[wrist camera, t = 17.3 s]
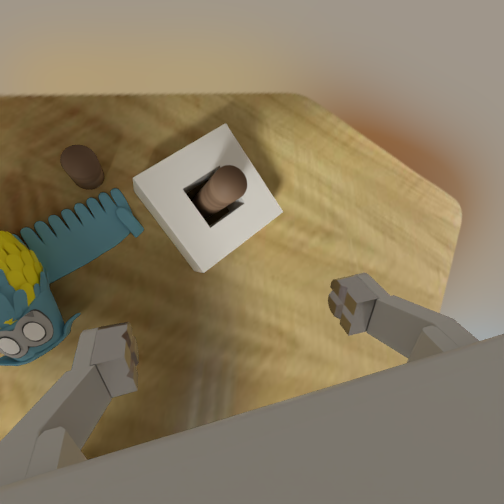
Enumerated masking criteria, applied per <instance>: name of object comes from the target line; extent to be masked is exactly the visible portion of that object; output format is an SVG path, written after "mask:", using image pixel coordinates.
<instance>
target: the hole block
mask: <svg viewBox="0 0 504 504" xmlns="http://www.w3.org/2000/svg"><path fill="white" fill-rule="evenodd" d="M225 165H232V166H235V167H237V168H239V169H240V170H241V171H242V172H243V173H244V174H245V176H246V179H247V189H246V192H245V194H244V195H243V196H242V197H241V198H239V199H238V200H236V201H234V202H233V203H231V204H230V205H228V206H226V207H227V208H228V210H229V211H230V212H228V213H227V214H225V215H224V216H223V217H221V218H220V219H218V220H217V221H216V222H214V223H213V224H211V225H210V226H209V225H208V224H207V223H206V221H205V220H204V218H203V217H202V216H201V214H200V213H199V211H198V210H197V209H196V207H195V206H194V204H193V203H192V202H191V200H190V199H189V197H188V196H187V195H186V193H188V192H189V191H191V190H192V189H194V188H195V187H197V186H199V185H200V184H202V183H203V182H205V181H206V180H208V181H209V179H210V178H211V177H212V176H213V175H214V174H215V172H216V171H217V170H218V169H219V168H220V167H222V166H225ZM133 187H134V192H135V193H136V195H137V196H138V197H139V199H140V200H141V201H142V203H143V204H144V205H145V207H146V208H147V209H148V210H149V212H150V213H151V214H152V216H153V217H154V218H155V220H156V221H157V222H158V224H159V225H160V226H161V228H162V229H163V230H164V232H165V233H166V234H167V236H168V237H169V238H170V240H171V241H172V242H173V244H174V245H175V246H176V248H177V249H178V250H179V252H180V253H181V254H182V256H183V257H184V258H185V259H186V261H187V262H188V263H189V265H190V266H191V267H192V269H193V270H194V271H197V272H201V273H204V272H206V271H207V270H208V269H210V268H211V267H212V266H214V265H215V264H216V263H217V262H219V261H220V260H221V259H223V258H224V257H225V256H227V255H228V254H229V253H230V252H232V251H233V250H234V249H236V248H237V247H238V246H240V245H241V244H242V243H243V242H245V241H246V240H247V239H249V238H250V237H251V236H253V235H254V234H255V233H256V232H258V231H259V230H260V229H262V228H263V227H264V226H265V225H267V224H268V223H269V222H271V221H272V220H273V219H275V218H276V217H277V216H278V215H280V214H281V213H282V212H283V211H282V209H281V208H280V206H279V205H278V203H277V202H276V200H275V198H274V197H273V195H272V194H271V192H270V191H269V189H268V188H267V186H266V185H265V183H264V181H263V180H262V178H261V177H260V175H259V174H258V172H257V171H256V169H255V168H254V166H253V164H252V163H251V161H250V160H249V158H248V157H247V155H246V154H245V152H244V151H243V149H242V147H241V146H240V144H239V143H238V141H237V140H236V138H235V137H234V135H233V134H232V132H231V130H230V129H229V127H228V126H227V124H226V123H225V124H223V125H221V126H220V127H218V128H216V129H215V130H213V131H211V132H210V133H208V134H206V135H204V136H203V137H201V138H199V139H198V140H196V141H194V142H193V143H191V144H189V145H187V146H186V147H184V148H182V149H181V150H179V151H177V152H176V153H174V154H172V155H171V156H169V157H167V158H165V159H164V160H162V161H160V162H159V163H157V164H155V165H154V166H152V167H150V168H148V169H147V170H145V171H143V172H142V173H140V174H138V175H137V176H135V177H133Z"/></svg>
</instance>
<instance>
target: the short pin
mask: <svg viewBox="0 0 504 504" xmlns="http://www.w3.org/2000/svg"><path fill="white" fill-rule="evenodd" d="M60 161H61V165H62V167H63V169H64V170H65V171H66V172H67V174H68V175H69V176H70V177H71V178H72V180H73V181H74V182H75V183H76V184H77V185H78V186H80V187H81V188H84V189H95V188H97V187H99V186H100V185H101V184H102V183H103V180H104V173H103V170H102V168H101V166H100V163H99V161H98V159H97V156H96V155H95V153H94V152H93V151H92V150H91V149H89V148H88V147H85V146H82V145H72V146H69V147H67V148H66V149H65V150H64V151H63V152H62V154H61V158H60Z"/></svg>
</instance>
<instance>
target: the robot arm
mask: <svg viewBox="0 0 504 504" xmlns="http://www.w3.org/2000/svg"><path fill="white" fill-rule="evenodd" d="M330 287H331V289H332V290H333V291H332V292H331V293H330V294H329V297H328V304H329V308H330V310H331V312H332V314H333V315H334V316H335V317H337V318H339V319H340V325H341V326H342V328H343V329H344V330H345V332H346V333H347V334H348V336H349V335H353V334H357V333H362V332H366V331H367V333H368V334H370V335H371V336H373V337H375V338H376V339H378V340H379V341H381V342H383V343H384V344H386V345H387V346H389V347H391V348H392V349H394V350H395V351H397V352H399V353H400V354H402V355H403V356H405V357H407V358H408V361H407V363H406V364H403V365H399V366H396V367H393V368H389V369H386V370H383V371H380V372H376V373H373V374H370V375H366V376H363V377H360V378H356V379H353V380H350V381H347V382H343V383H340V384H337V385H333V386H330V387H327V388H324V389H320V390H317V391H314V392H310V393H307V394H304V395H301V396H297V397H294V398H291V399H287V400H284V401H281V402H277V403H274V404H271V405H268V406H264V407H261V408H258V409H254V410H251V411H248V412H244V413H241V414H238V415H234V416H231V417H228V418H225V419H221V420H218V421H215V422H211V423H208V424H205V425H201V426H198V427H195V428H192V429H188V430H185V431H182V432H178V433H175V434H172V435H168V436H165V437H162V438H158V439H155V440H152V441H149V442H145V443H142V444H139V445H135V446H132V447H129V448H125V449H122V450H119V451H116V452H112V453H109V454H106V455H102V456H99V457H96V458H92V459H89V460H87V459H86V457H85V456H84V454H83V453H82V452H81V449H82V447H83V445H84V444H85V442H86V441H87V439H88V437H89V436H90V434H91V432H92V431H93V429H94V427H95V426H96V424H97V423H98V421H99V419H100V418H101V416H102V414H103V413H104V411H105V410H106V408H107V406H108V405H109V403H110V401H111V400H112V399H111V398H113V397H117V396H120V395H124V394H127V393H130V392H134V391H137V389H138V372H137V369H136V366H137V364H138V363H139V354H138V346H137V341H136V338H135V337H134V336H132V327H131V324H130V322H125V323H119V324H114V325H108V326H103V327H99V328H94V329H88V330H83V331H82V333H81V334H80V338H79V342H78V346H77V349H76V353H75V357H74V361H73V365H72V369H71V371H67V372H65V374H64V375H63V376H62V377H61V378H60V379H59V380H58V381H57V382H56V383H55V384H54V385H53V386H52V387H51V388H50V389H49V390H48V392H47V393H46V394H45V395H44V396H43V397H42V398H41V399H40V400H39V401H38V402H37V403H36V404H35V405H34V406H33V407H32V408H31V410H30V411H29V412H28V413H27V414H26V415H25V416H24V417H23V418H22V419H21V420H20V421H19V422H18V423H17V424H16V425H15V427H14V428H13V429H12V430H11V431H10V432H9V433H8V434H7V435H6V436H5V437H4V438H3V439H2V440H1V441H0V504H504V334H502V335H498V336H495V337H492V338H489V339H485V340H482V341H479V340H478V339H476V338H475V337H474V336H472V334H470V333H469V332H468V331H467V330H466V329H465V328H463V327H462V326H461V325H460V324H459V323H457V322H456V321H455V320H454V319H452V318H450V317H447V316H445V315H442V314H440V313H437V312H435V311H432V310H430V309H427V308H424V307H422V306H419V305H417V304H414V303H412V302H409V301H407V300H404V299H402V298H399V297H397V296H394V295H393V296H390V295H389V294H388V293H387V292H386V291H385V290H384V289H383V288H382V287H381V286H380V285H379V284H378V283H377V282H376V281H375V280H374V279H373V278H372V277H370V276H369V275H368V274H367V273H361V274H356V275H352V276H347V277H343V278H338V279H334V280H333V281H332V282H331V286H330Z"/></svg>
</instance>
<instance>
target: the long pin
mask: <svg viewBox="0 0 504 504" xmlns="http://www.w3.org/2000/svg"><path fill="white" fill-rule="evenodd" d="M246 189H247V179H246V176H245V174H244V173H243V172H242V171H241V170H240V169H239V168H237V167H235V166H232V165H225V166H222V167H220V168H219V169H218V170H217V171H216V172H215V174H214V175H213V176H212V177H211V178H210V179H209V181H208V182H207V183H206V184H205V185H204V186H203V188H202V189H201V190H200V191H199V192H198V193H197V195H196V196H195V197H194V198H193V200H192V203H193V204H194V206H195V207H196V209H197V210H198V211H199V213H200V214H201V216H202V217H203V218H208V217H210V216H212V215H213V214H215V213H217V212H218V211H220V210H222V209H223V208H225V207H226V206H228V205H230V204H231V203H233V202H234V201H236V200H238V199H239V198H241V197H242V196H243V195H244V194H245V192H246Z"/></svg>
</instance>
